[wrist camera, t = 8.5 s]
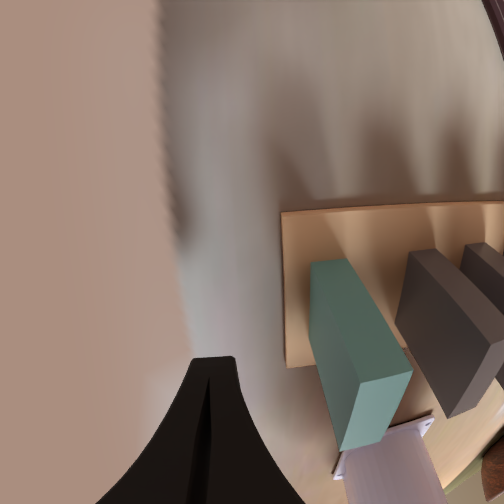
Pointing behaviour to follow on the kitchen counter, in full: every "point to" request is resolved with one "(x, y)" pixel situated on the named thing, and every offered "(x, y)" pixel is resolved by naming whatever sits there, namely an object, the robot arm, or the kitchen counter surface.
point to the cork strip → (374, 252)
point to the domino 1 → (354, 355)
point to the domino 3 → (486, 277)
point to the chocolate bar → (496, 19)
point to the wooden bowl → (493, 471)
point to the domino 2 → (450, 330)
